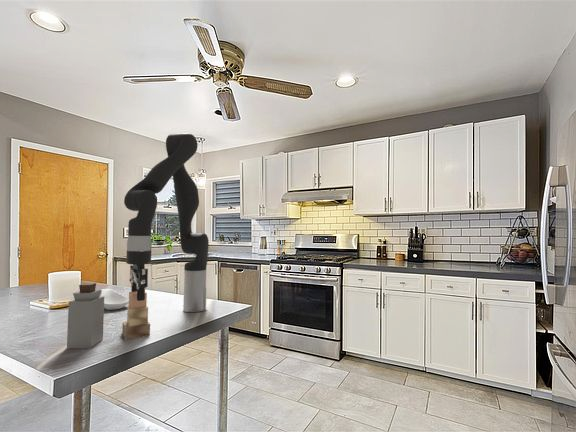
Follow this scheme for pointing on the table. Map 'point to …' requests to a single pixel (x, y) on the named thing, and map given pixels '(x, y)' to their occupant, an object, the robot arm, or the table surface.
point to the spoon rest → (113, 299)
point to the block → (134, 302)
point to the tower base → (135, 330)
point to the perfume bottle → (85, 317)
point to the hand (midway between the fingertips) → (137, 298)
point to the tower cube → (137, 316)
